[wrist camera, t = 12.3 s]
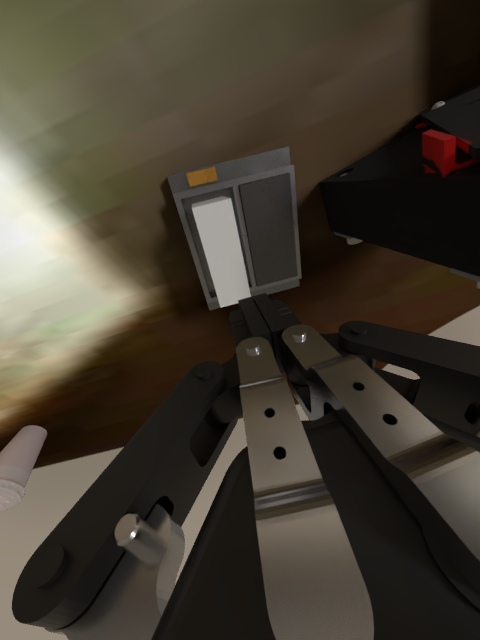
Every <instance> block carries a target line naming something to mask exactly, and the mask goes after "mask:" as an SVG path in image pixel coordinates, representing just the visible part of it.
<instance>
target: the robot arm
mask: <svg viewBox="0 0 480 640" xmlns="http://www.w3.org/2000/svg"><path fill="white" fill-rule="evenodd" d="M238 304H239V308H240V309H239V310H235V311H231V312H230V315H229V317H228V318H229V322H230V325H231V329H232V333H233V336H234V340H235V344H236V347H237V348H236V353H235V355H234V356H233V357H232V358H231V359H230V360H229V361H227V362H225V363H224V364H222V365H220V364H219V363H217V362H215V361H205V362H202V363H199V364H197V365H196V366H194V367H193V368H192V369H191V370H190V371H189V372H188V373H187V375H186V376H185V377H184V378H183V379H182V380H181V382H180V383H179V384H178V385H177V386H176V387H175V389H174V390H173V391H172V392H171V393H170V394H169V396H168V397H167V398H166V399H165V400H164V401H163V403H162V404H161V405H160V406H159V407H158V408H157V410H156V411H155V412H154V413H153V414H152V415H151V417H150V418H149V419H148V420H147V421H146V422H145V424H144V425H143V426H142V427H141V428H140V429H139V431H138V432H137V433H136V434H135V435H134V436H133V438H132V439H131V440H130V441H129V442H128V443H127V445H126V446H125V447H124V448H123V449H122V450H121V452H120V453H119V454H118V455H117V456H116V457H115V459H114V460H113V461H112V462H111V463H110V464H109V466H108V467H107V468H106V469H105V470H104V471H103V473H102V474H101V475H100V476H99V477H98V478H97V480H96V481H95V482H94V483H93V484H92V485H91V487H90V488H89V489H88V490H87V491H86V493H85V494H84V495H83V496H82V497H81V498H80V499H79V501H78V502H77V503H76V504H75V505H74V506H73V508H72V509H71V510H70V511H69V512H68V513H67V515H66V516H65V517H64V518H63V519H62V520H61V522H60V523H59V524H58V525H57V526H56V527H55V529H54V530H53V531H52V532H51V533H50V534H49V536H48V537H47V538H46V539H45V540H44V542H43V543H42V544H41V545H40V546H39V547H38V549H37V550H36V551H35V552H34V554H33V555H32V556H31V558H30V559H29V561H28V562H27V564H26V566H25V567H24V569H23V571H22V573H21V575H20V577H19V579H18V582H17V584H16V587H15V590H14V594H13V600H12V611H13V615H14V617H15V619H16V620H18V621H19V622H21V623H25V624H30V625H35V626H39V627H44V628H45V629H46V630H47V631H50V632H54V633H59V634H64V635H66V636H67V638H68V639H69V640H480V346H475V345H471V344H466V343H461V342H457V341H451V340H447V339H442V338H438V337H433V336H429V335H424V334H419V333H415V332H410V331H406V330H401V329H396V328H392V327H387V326H382V325H378V324H373V323H368V322H363V321H350V322H346V323H344V324H342V325H341V326H340V327H339V332H338V333H332V334H319V333H318V332H317V331H316V330H315V329H313V328H312V327H310V326H306V325H302V324H301V322H300V321H299V320H298V319H297V317H296V316H295V315H294V313H293V312H292V311H291V310H290V308H288V306H287V305H286V303H285V302H283V301H281V300H279V299H275V300H272V301H271V300H270V299H269V297H268V296H267V294H266V293H263V294H259V295H255V296H252V297H248V298H244V299H241V300H238ZM375 360H378V361H382V362H385V363H388V364H392V365H395V366H399V367H402V368H405V369H408V370H411V371H413V372H415V373H416V374H417V375H418V376H419V377H420V379H417V380H413V379H409V378H405V377H402V376H399V375H396V374H393V373H390V372H387V371H384V370H381V369H378V368H375V367H374V366H375ZM281 372H285V373H286V375H287V380H288V385H289V387H290V389H291V390H292V392H293V394H294V395H295V397H296V399H297V400H298V402H299V404H300V405H301V407H302V409H303V410H304V412H305V414H306V415H307V417H308V419H309V421H301V420H300V417H299V414H298V412H297V409H296V406H295V404H294V401H293V398H292V396H291V393H290V390H289V388H288V385H287V382H286V380H285V377H284V376H281V374H280V373H281ZM241 414H243V417H244V425H245V432H246V439H247V447H246V448H244V449H243V450H242V451H241V452H240V453H239V454H238V455H237V456H236V458H235V459H234V460H233V462H232V463H231V465H230V466H229V468H228V470H227V472H226V474H225V476H224V478H223V481H222V483H221V485H220V487H219V490H218V492H217V494H216V496H215V498H214V501H213V503H212V505H211V507H210V510H209V512H208V514H207V516H206V519H205V521H204V523H203V525H202V527H201V530H200V532H199V534H198V536H197V538H196V541H195V543H194V545H193V548H192V550H191V552H190V554H189V556H188V559H187V561H186V563H185V565H184V567H183V570H182V572H181V574H180V576H179V579H178V581H177V583H176V585H175V580H176V577H177V573H178V570H179V568H180V565H181V562H182V559H183V555H184V549H185V539H184V533H183V530H182V528H181V526H182V524H183V523H184V521H185V519H186V517H187V515H188V513H189V511H190V510H191V508H192V506H193V504H194V502H195V500H196V498H197V496H198V494H199V493H200V491H201V489H202V487H203V485H204V483H205V481H206V480H207V478H208V476H209V474H210V472H211V470H212V468H213V466H214V465H215V463H216V461H217V459H218V457H219V455H220V453H221V451H222V450H223V448H224V446H225V444H226V442H227V440H228V438H229V437H230V435H231V433H232V431H233V429H234V427H235V425H236V423H237V420H238V416H239V415H241ZM174 586H175V587H174Z"/></svg>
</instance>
